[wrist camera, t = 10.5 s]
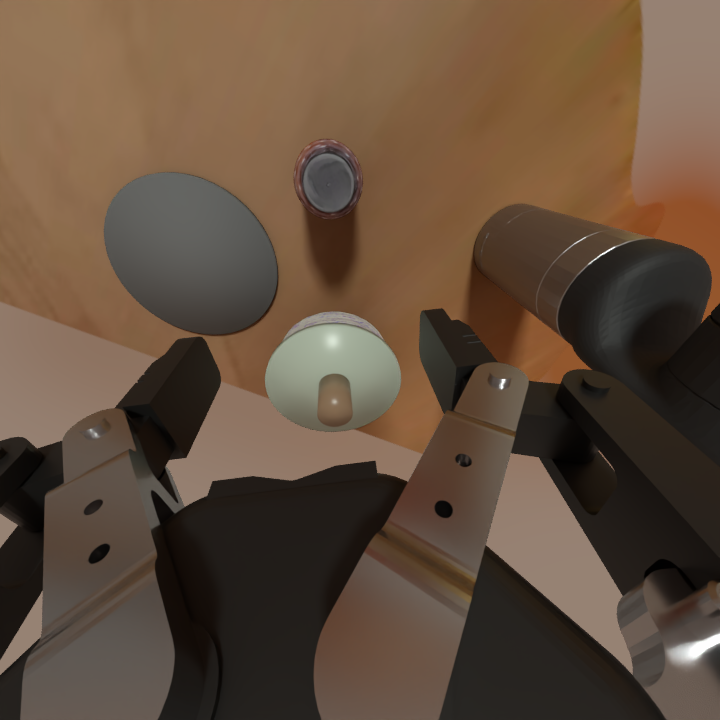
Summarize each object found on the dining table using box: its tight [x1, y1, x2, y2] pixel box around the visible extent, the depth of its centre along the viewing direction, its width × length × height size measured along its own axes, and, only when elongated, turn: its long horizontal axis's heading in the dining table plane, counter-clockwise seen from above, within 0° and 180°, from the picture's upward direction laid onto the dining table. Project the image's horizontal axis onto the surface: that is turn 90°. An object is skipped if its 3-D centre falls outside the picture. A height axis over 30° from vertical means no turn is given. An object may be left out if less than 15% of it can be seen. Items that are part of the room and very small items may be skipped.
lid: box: [265, 323, 401, 432], centre depth 36 cm, size 17×17×6 cm
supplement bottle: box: [294, 139, 363, 219], centre depth 27 cm, size 6×6×11 cm
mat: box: [104, 172, 278, 334], centre depth 36 cm, size 19×19×1 cm
